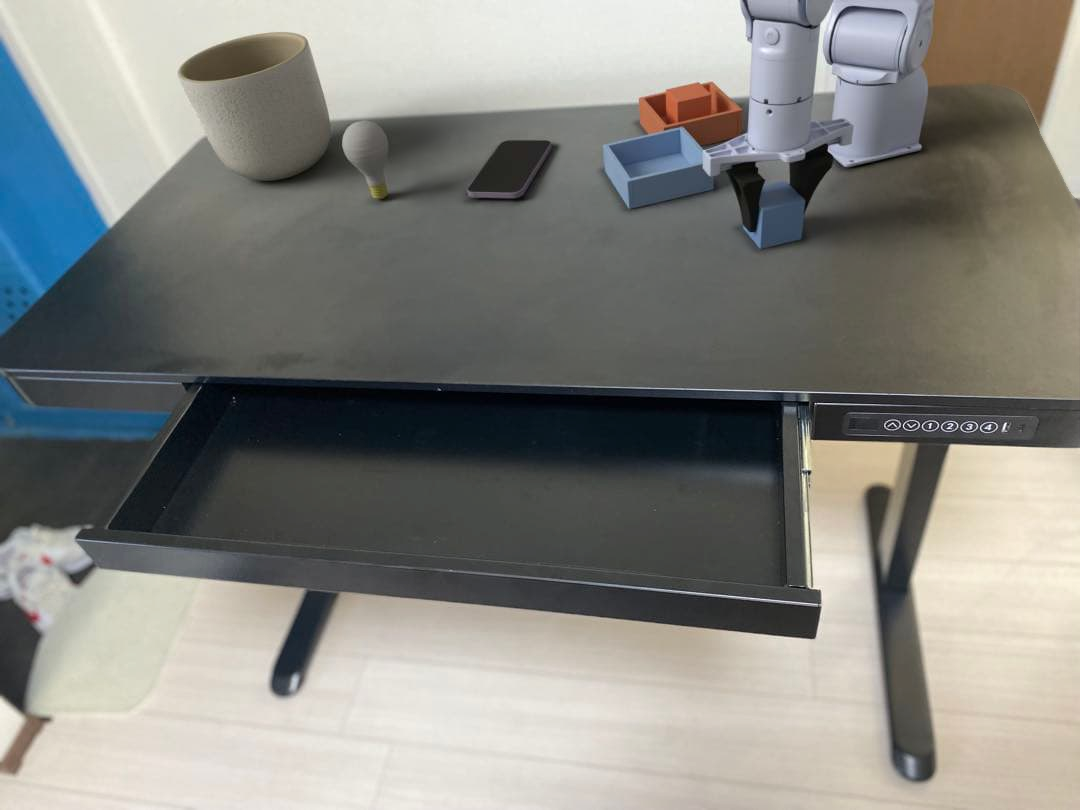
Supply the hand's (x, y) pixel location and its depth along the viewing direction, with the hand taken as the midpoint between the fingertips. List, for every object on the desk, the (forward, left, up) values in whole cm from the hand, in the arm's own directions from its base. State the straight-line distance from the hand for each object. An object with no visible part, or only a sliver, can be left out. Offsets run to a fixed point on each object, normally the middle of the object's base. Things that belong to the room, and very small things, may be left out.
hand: (772, 222), depth 82 cm
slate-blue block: (0, 0, -1) cm, 1 cm away
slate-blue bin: (+7, -17, -1) cm, 18 cm away
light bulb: (+40, -28, -2) cm, 49 cm away
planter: (+53, -45, -2) cm, 70 cm away
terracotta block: (-1, -28, -1) cm, 28 cm away
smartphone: (+23, -27, -2) cm, 36 cm away
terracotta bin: (-1, -28, -1) cm, 28 cm away
